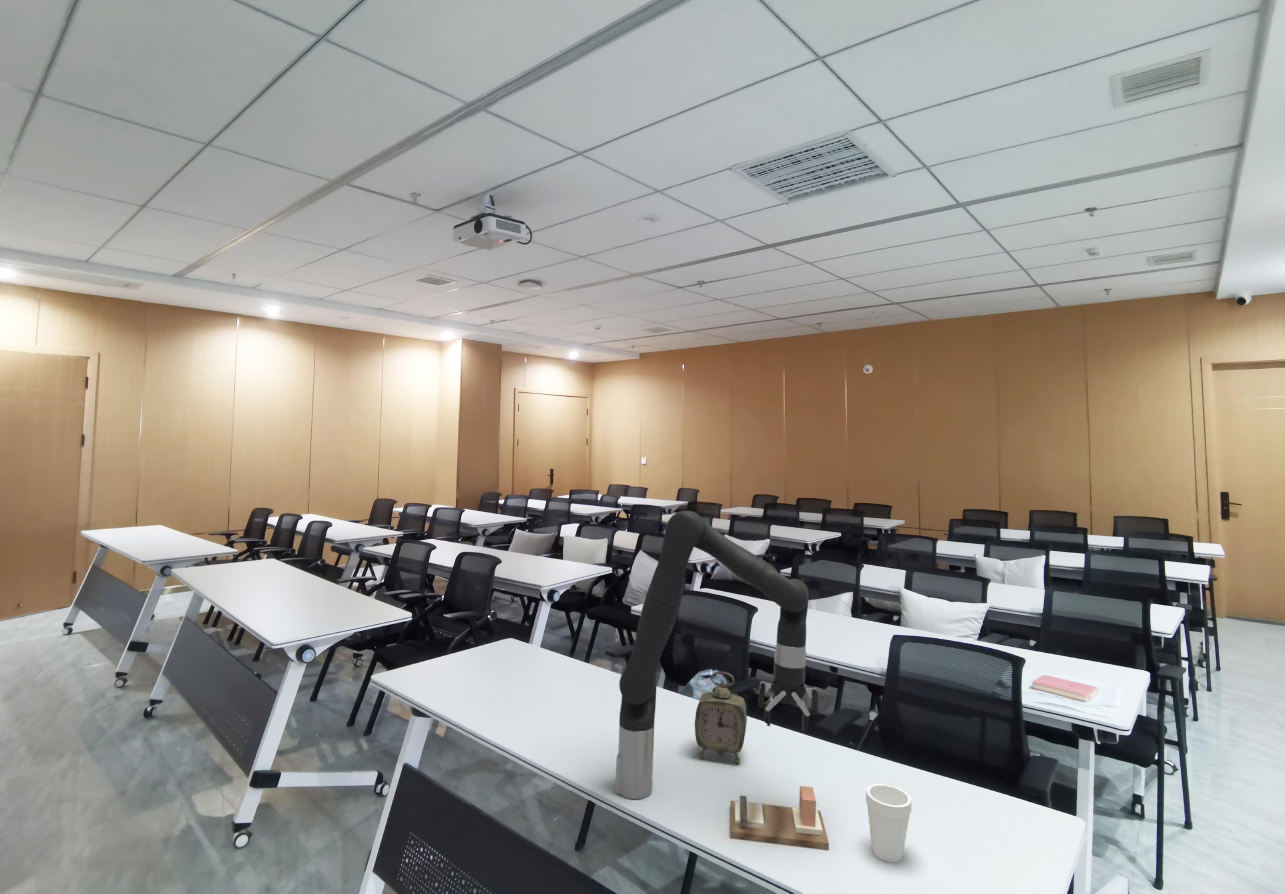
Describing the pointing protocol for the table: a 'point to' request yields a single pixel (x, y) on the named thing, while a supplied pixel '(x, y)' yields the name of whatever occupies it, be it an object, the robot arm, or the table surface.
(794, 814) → the stub
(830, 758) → the table surface
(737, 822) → the stand
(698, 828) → the table surface
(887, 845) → the foam cup
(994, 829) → the table surface
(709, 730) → the tabletop clock
